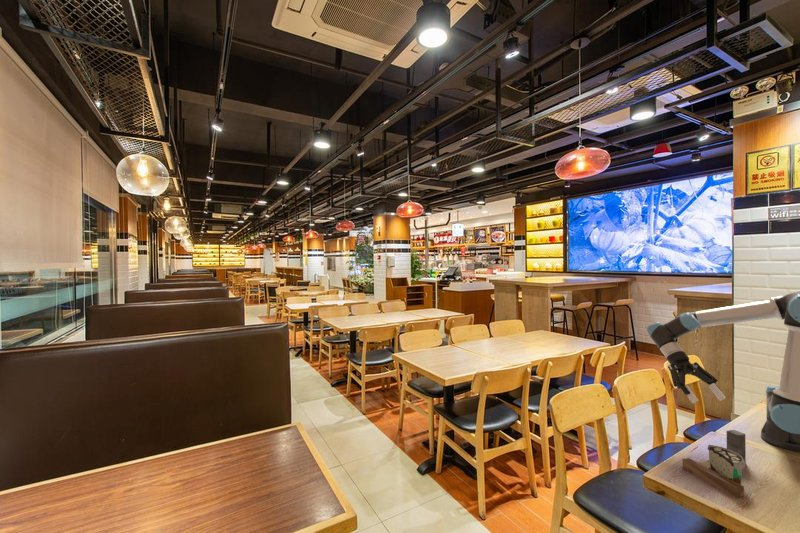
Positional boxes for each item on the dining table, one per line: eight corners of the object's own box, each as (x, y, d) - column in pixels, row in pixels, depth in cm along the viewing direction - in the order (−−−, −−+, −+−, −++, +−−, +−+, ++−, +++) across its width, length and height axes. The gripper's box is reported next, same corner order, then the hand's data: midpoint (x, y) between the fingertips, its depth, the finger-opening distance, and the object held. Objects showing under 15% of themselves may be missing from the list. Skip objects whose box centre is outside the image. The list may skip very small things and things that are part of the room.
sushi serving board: (734, 458, 135) (734, 429, 135) (793, 485, 118) (793, 452, 118) (682, 468, 129) (682, 438, 129) (737, 498, 112) (736, 464, 112)
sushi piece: (756, 494, 114) (756, 464, 114) (735, 493, 115) (735, 463, 115) (726, 472, 126) (726, 444, 126) (707, 471, 127) (707, 443, 127)
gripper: (691, 357, 162) (726, 402, 147) (645, 360, 157) (677, 406, 143) (703, 348, 156) (741, 394, 142) (656, 351, 152) (690, 399, 137)
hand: (709, 400), depth 142 cm, fingers open, 13 cm apart
